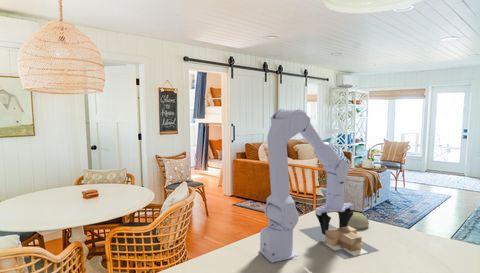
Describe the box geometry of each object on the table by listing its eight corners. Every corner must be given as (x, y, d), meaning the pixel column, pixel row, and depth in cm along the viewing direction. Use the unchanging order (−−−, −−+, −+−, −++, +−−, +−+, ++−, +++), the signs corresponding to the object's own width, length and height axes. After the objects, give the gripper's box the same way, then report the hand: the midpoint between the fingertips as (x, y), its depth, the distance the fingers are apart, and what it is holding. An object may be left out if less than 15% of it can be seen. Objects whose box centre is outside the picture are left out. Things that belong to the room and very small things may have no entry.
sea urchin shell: (337, 221, 113) (344, 203, 117) (343, 231, 118) (350, 214, 121) (361, 228, 107) (368, 209, 110) (367, 239, 111) (373, 220, 115)
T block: (343, 253, 91) (344, 240, 91) (325, 242, 99) (325, 230, 98) (368, 247, 95) (368, 235, 94) (348, 237, 103) (349, 225, 102)
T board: (344, 260, 88) (344, 259, 87) (298, 231, 109) (298, 229, 108) (379, 252, 93) (379, 250, 93) (329, 225, 114) (329, 224, 114)
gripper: (325, 199, 94) (324, 240, 95) (360, 194, 100) (358, 233, 101) (311, 193, 100) (310, 232, 102) (345, 188, 106) (343, 225, 107)
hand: (333, 232), depth 102 cm, fingers open, 7 cm apart
